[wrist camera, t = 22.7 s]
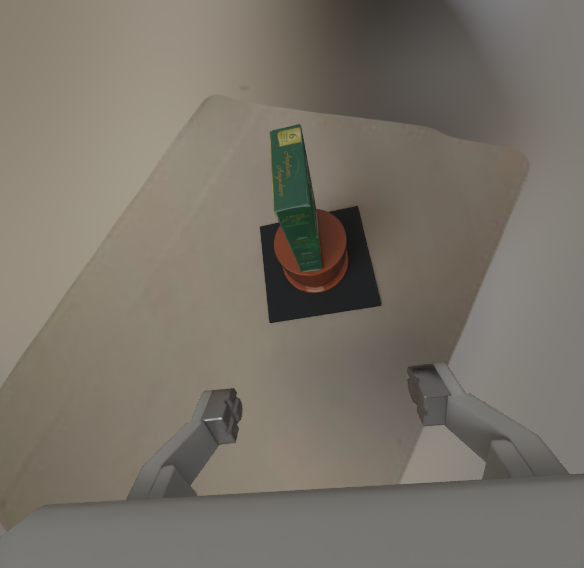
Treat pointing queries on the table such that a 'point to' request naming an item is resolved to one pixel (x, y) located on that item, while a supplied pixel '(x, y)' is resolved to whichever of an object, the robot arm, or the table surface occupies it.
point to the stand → (331, 256)
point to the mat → (344, 297)
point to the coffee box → (295, 196)
